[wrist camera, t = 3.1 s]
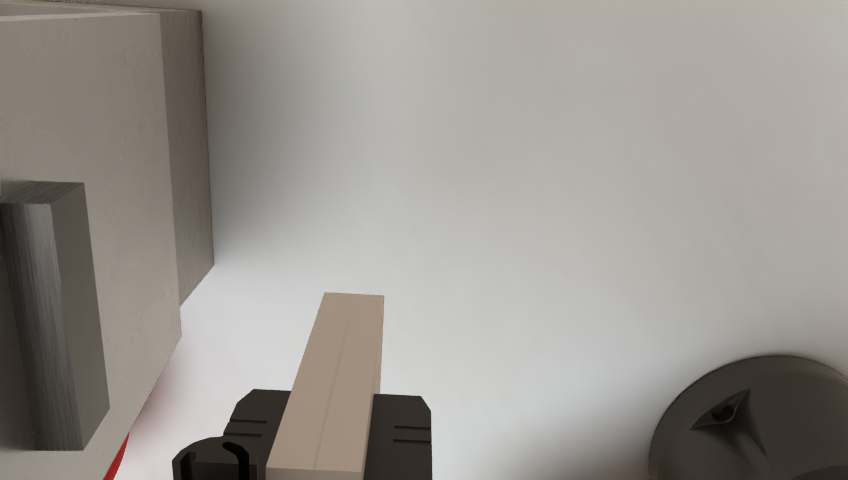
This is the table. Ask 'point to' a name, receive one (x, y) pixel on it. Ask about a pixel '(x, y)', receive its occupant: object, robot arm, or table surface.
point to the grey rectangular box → (170, 126)
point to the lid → (82, 238)
